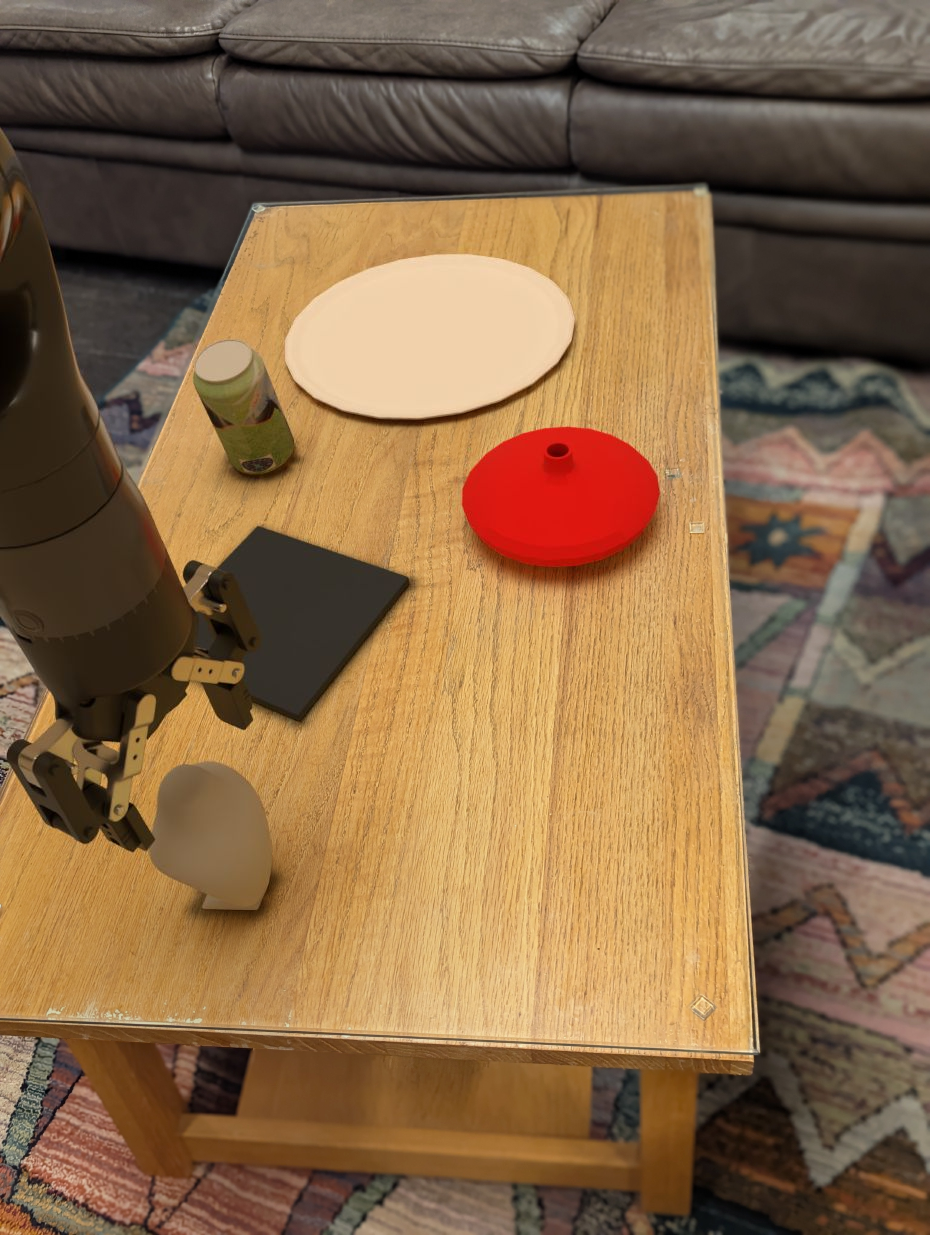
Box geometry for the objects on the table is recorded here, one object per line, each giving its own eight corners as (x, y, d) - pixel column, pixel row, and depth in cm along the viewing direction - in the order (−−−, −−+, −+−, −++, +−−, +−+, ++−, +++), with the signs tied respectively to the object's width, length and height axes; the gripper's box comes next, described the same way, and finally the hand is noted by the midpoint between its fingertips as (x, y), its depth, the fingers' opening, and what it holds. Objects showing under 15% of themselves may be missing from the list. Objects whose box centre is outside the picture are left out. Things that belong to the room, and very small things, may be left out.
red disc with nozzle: (479, 455, 95) (472, 388, 90) (662, 458, 92) (665, 389, 87) (450, 583, 84) (440, 515, 79) (655, 591, 81) (658, 522, 76)
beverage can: (303, 437, 99) (273, 323, 90) (286, 490, 94) (252, 374, 85) (238, 438, 100) (201, 325, 91) (217, 490, 95) (177, 376, 86)
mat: (300, 722, 76) (297, 715, 76) (142, 655, 82) (139, 648, 82) (410, 583, 85) (408, 576, 84) (259, 532, 91) (257, 525, 90)
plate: (570, 253, 117) (569, 242, 116) (581, 416, 97) (581, 405, 96) (306, 273, 119) (303, 263, 119) (264, 436, 100) (261, 425, 99)
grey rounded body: (258, 954, 65) (203, 850, 56) (179, 937, 66) (113, 833, 57) (303, 846, 69) (258, 735, 61) (228, 832, 71) (174, 721, 62)
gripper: (123, 451, 52) (216, 665, 64) (-106, 655, 45) (48, 856, 56) (244, 490, 49) (318, 707, 61) (21, 716, 42) (155, 915, 53)
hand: (188, 778), depth 59 cm, fingers open, 8 cm apart
